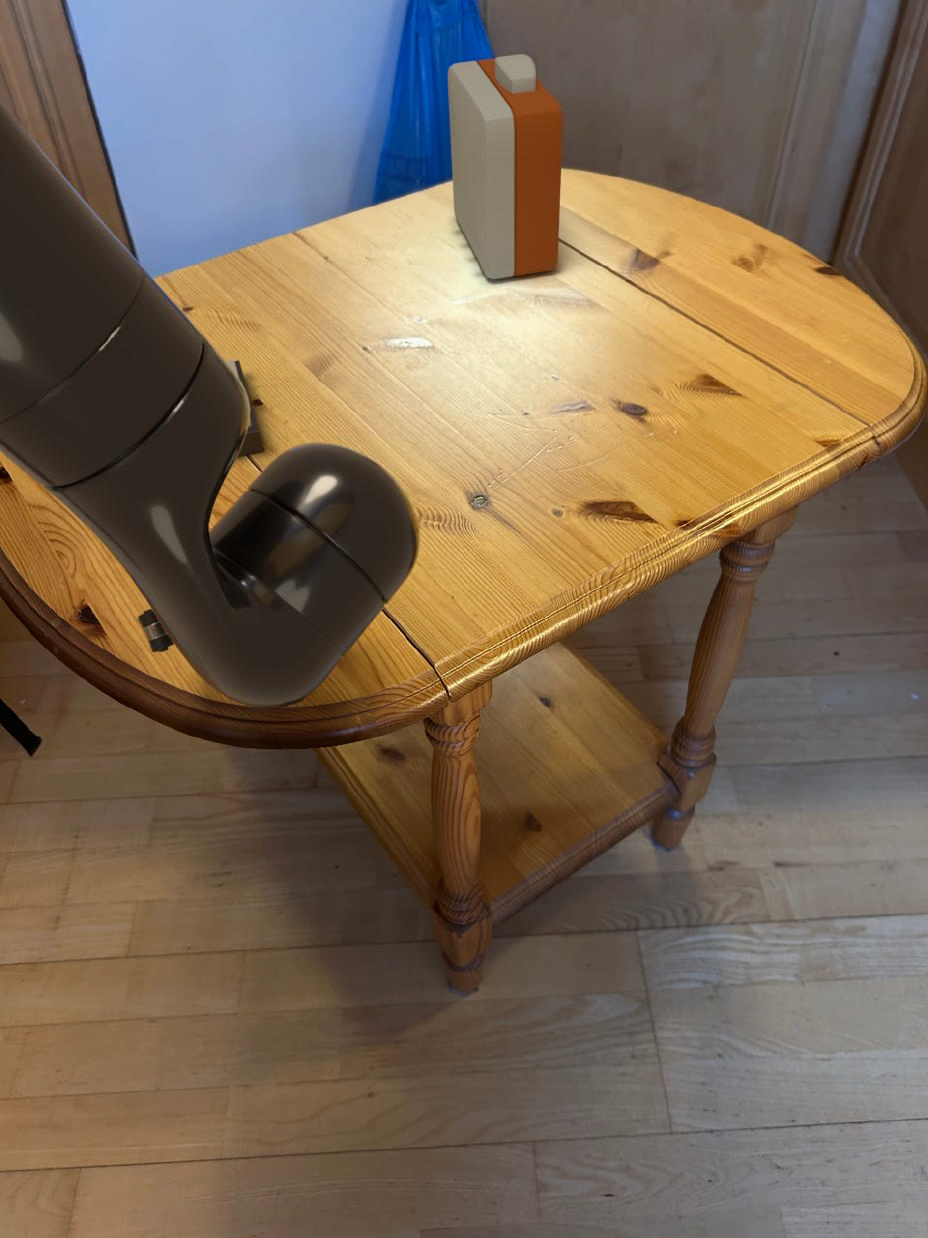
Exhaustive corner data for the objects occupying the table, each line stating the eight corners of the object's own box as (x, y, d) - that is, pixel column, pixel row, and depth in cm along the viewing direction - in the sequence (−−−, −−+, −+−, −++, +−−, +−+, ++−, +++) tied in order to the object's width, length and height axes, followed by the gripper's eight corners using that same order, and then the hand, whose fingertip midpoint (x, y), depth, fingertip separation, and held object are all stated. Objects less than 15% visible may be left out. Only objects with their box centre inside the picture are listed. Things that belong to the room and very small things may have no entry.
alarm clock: (559, 274, 108) (566, 84, 92) (488, 285, 107) (483, 95, 91) (517, 208, 120) (518, 30, 104) (453, 217, 119) (444, 39, 103)
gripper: (351, 484, 52) (313, 516, 68) (108, 573, 48) (126, 585, 64) (399, 604, 53) (350, 608, 69) (164, 701, 49) (168, 682, 65)
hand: (242, 597), depth 66 cm, fingers open, 8 cm apart
